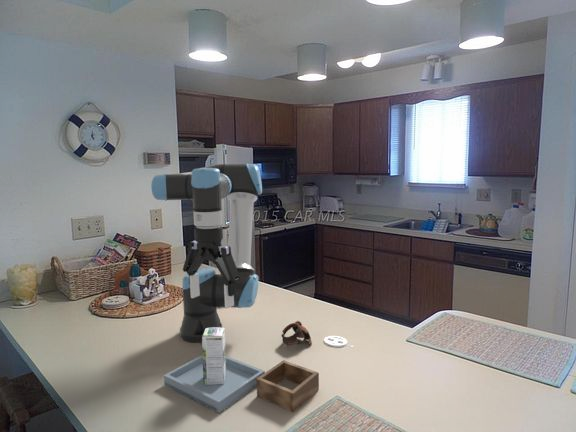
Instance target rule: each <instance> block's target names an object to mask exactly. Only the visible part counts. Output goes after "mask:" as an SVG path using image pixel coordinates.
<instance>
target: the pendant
mask: <svg viewBox="0 0 576 432" xmlns="http://www.w3.org/2000/svg"><path fill="white" fill-rule="evenodd" d="M323 342H324V344H325V345H327V346H330V347H333V348H343V347H350V348H354V345H350V344H349V345H348V339H346V338H345V337H342V336H338V335H329V336H325V337H324V339H323Z"/></svg>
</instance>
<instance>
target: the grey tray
mask: <svg viewBox="0 0 576 432" xmlns="http://www.w3.org/2000/svg"><path fill="white" fill-rule="evenodd" d="M225 359H226V375H225V380H224V384H218V385H203V354H201V355H200V356H197V357H196V358H194V359H192V360H190V361H188V362H187V363H184V364H182V365H180V366H179V367H177V368H175V369H173V370H171V371H169V372H167V373H166V374H164V375H163V384H164V386H165V387H168V388H169V389H172V390H173V391H175V392H177V393H179V394H181V395H183V396H185V397H187V398H188V399H191V400H193V401H194V402H196V403H199V404H201V405H202V406H205V407H207V408H208V409H210V410H212V411H214V412H216V413H218V414H220V413H221V412H222V413H223V411H224V410H226V409H227V408H230V406H231V405H233V404H234V403H236V402H237V401H239V400H240V399H242V398H243V397H244V396H246V395H247V394H249V393H250V392H252V391H253V390H254V389H255V388H256V389H257V378H258V377H260V376H261V375H263V374H264V373H266V372H265V370H263V369H260V368H258V367H255V366H253V365H251V364H248V363H246V362H243V361H240V360H238V359H235V358H232V357H229V356H227V355H225Z"/></svg>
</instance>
